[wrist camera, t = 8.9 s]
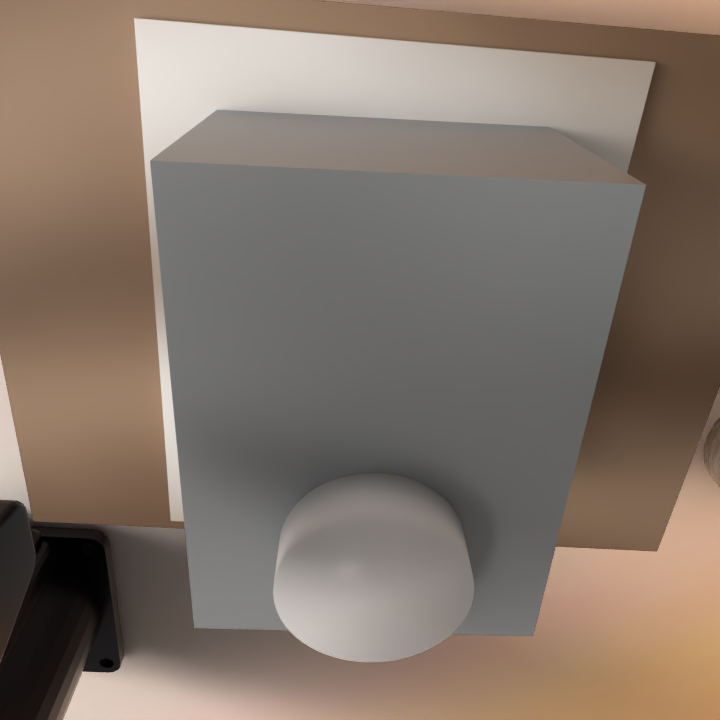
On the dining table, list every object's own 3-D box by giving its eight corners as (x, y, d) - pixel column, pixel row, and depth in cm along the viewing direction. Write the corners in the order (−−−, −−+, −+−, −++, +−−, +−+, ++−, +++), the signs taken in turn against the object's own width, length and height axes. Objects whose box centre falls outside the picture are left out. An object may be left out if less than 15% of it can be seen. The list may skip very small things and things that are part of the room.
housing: (548, 127, 12) (682, 206, 7) (487, 478, 16) (547, 686, 11) (216, 109, 12) (124, 179, 7) (233, 470, 16) (181, 679, 11)
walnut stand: (605, 459, 21) (661, 559, 17) (88, 431, 20) (28, 529, 16) (733, 38, 15) (860, 47, 12) (26, -24, 15) (-88, -35, 11)
